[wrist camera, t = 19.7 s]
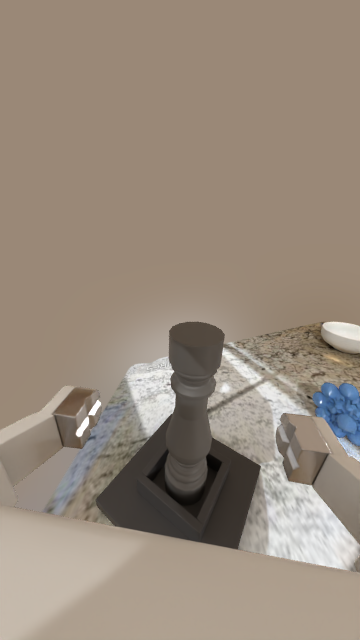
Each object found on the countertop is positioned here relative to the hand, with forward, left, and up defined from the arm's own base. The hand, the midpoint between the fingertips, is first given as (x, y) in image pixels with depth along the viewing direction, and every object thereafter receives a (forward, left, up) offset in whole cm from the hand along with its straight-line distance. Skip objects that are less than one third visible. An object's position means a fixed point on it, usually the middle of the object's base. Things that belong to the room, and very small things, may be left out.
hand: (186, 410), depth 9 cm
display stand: (-5, +11, -29) cm, 31 cm away
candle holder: (-5, +11, -27) cm, 30 cm away
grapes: (+15, +35, -29) cm, 47 cm away
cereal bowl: (+19, +81, -29) cm, 88 cm away
